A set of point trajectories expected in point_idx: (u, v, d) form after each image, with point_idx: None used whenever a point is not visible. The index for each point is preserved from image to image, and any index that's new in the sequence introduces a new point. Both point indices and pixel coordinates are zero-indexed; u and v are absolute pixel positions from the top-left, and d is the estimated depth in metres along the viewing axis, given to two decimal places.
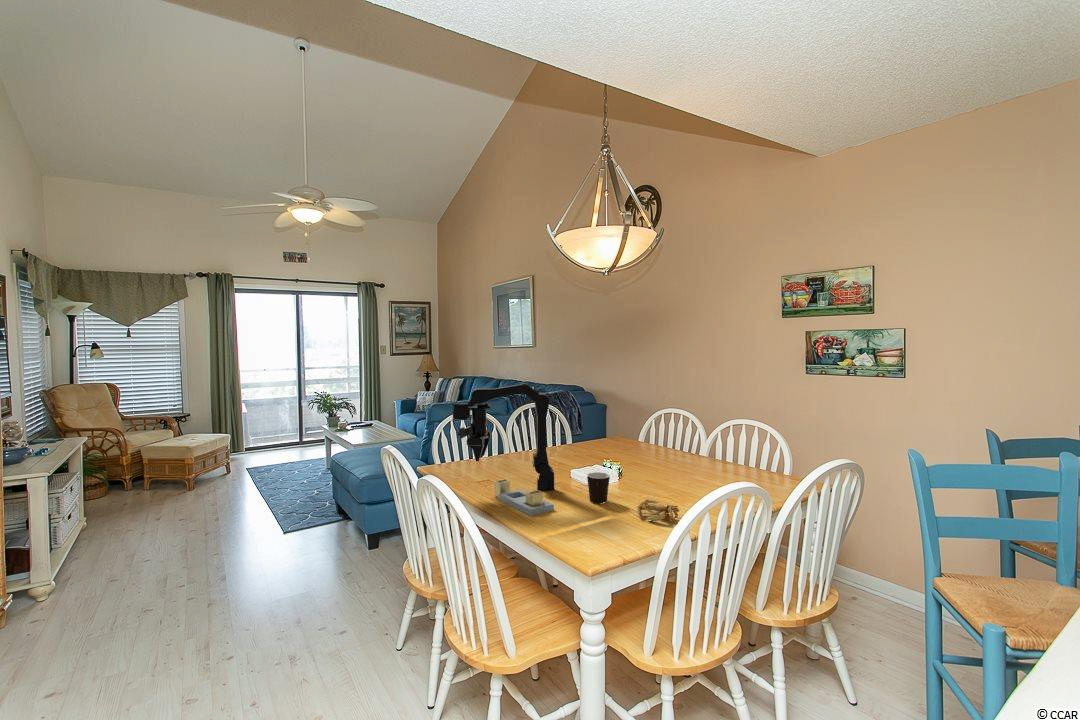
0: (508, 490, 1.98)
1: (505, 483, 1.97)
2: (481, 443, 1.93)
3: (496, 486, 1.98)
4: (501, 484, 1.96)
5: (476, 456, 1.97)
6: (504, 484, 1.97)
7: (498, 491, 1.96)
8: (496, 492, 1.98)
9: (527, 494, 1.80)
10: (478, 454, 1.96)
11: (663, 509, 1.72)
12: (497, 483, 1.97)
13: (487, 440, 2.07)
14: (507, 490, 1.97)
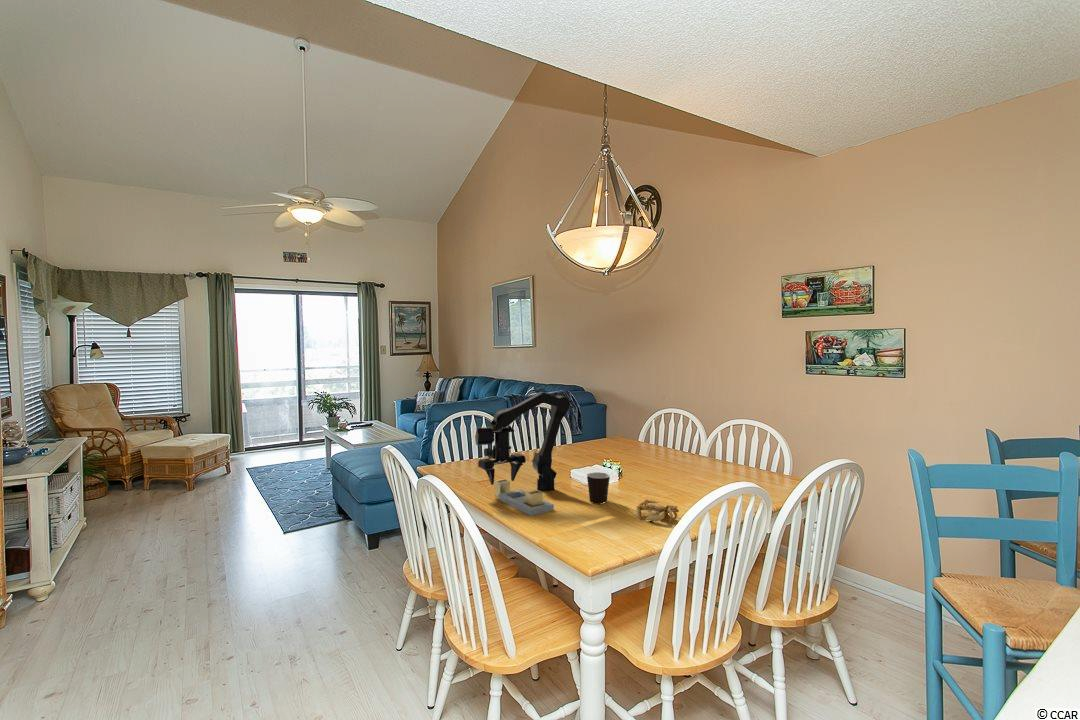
0: (508, 490, 1.98)
1: (505, 483, 1.97)
2: (485, 467, 1.91)
3: (496, 486, 1.98)
4: (501, 484, 1.96)
5: (490, 479, 1.96)
6: (504, 484, 1.97)
7: (498, 491, 1.96)
8: (496, 492, 1.98)
9: (527, 494, 1.80)
10: (490, 478, 1.95)
11: (663, 509, 1.71)
12: (497, 483, 1.97)
13: (516, 466, 2.00)
14: (507, 490, 1.97)
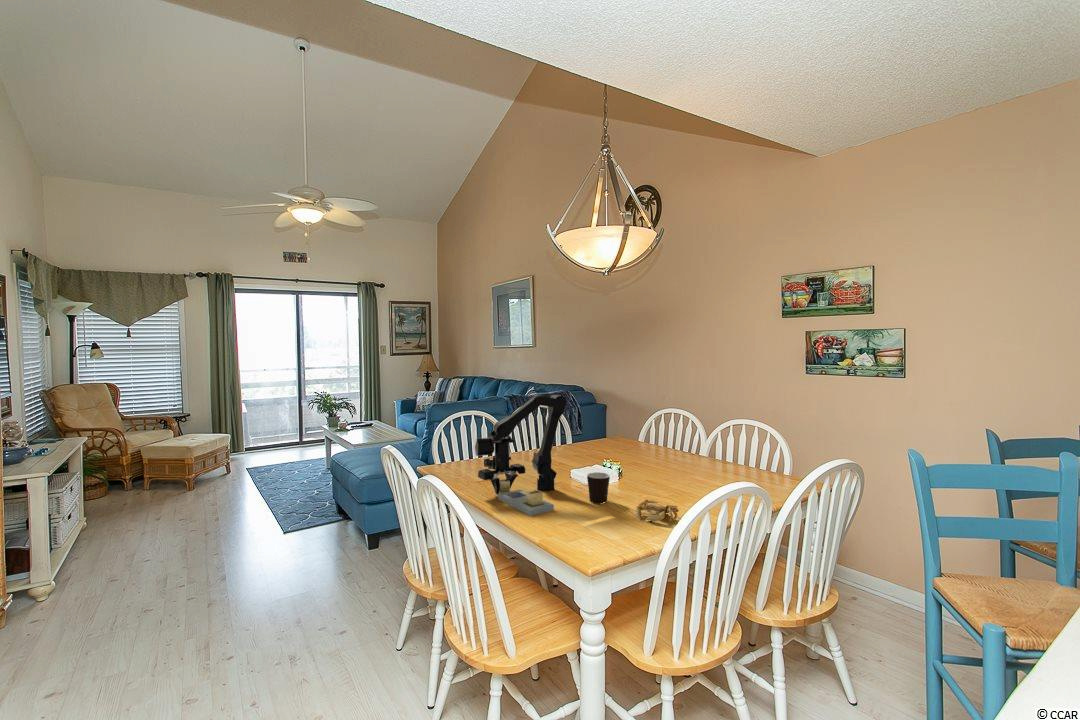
0: (508, 490, 1.98)
1: (505, 483, 1.97)
2: (485, 478, 1.91)
3: None
4: (501, 484, 1.96)
5: (494, 489, 1.97)
6: (504, 484, 1.97)
7: None
8: None
9: (527, 494, 1.80)
10: (495, 487, 1.96)
11: (662, 509, 1.71)
12: None
13: (511, 477, 1.98)
14: (507, 490, 1.97)
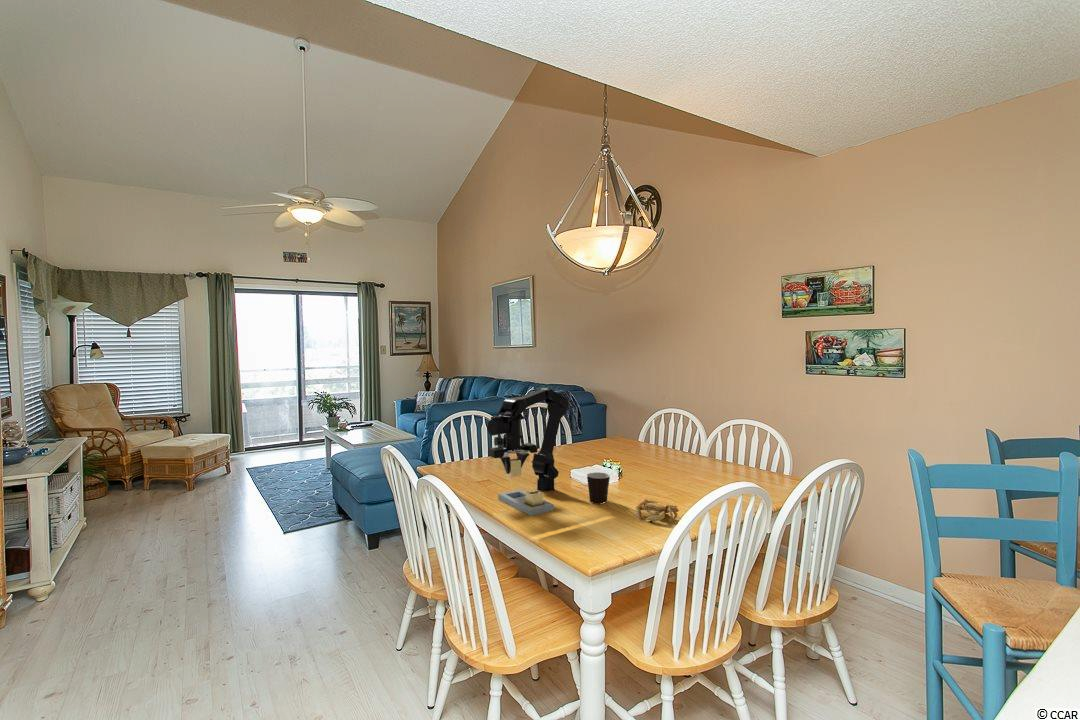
0: (519, 469, 1.90)
1: (516, 462, 1.89)
2: (495, 456, 1.84)
3: None
4: (512, 463, 1.89)
5: (505, 468, 1.90)
6: (515, 463, 1.89)
7: (509, 470, 1.89)
8: None
9: (527, 494, 1.80)
10: (506, 466, 1.89)
11: (662, 509, 1.71)
12: None
13: (522, 456, 1.91)
14: (518, 469, 1.90)
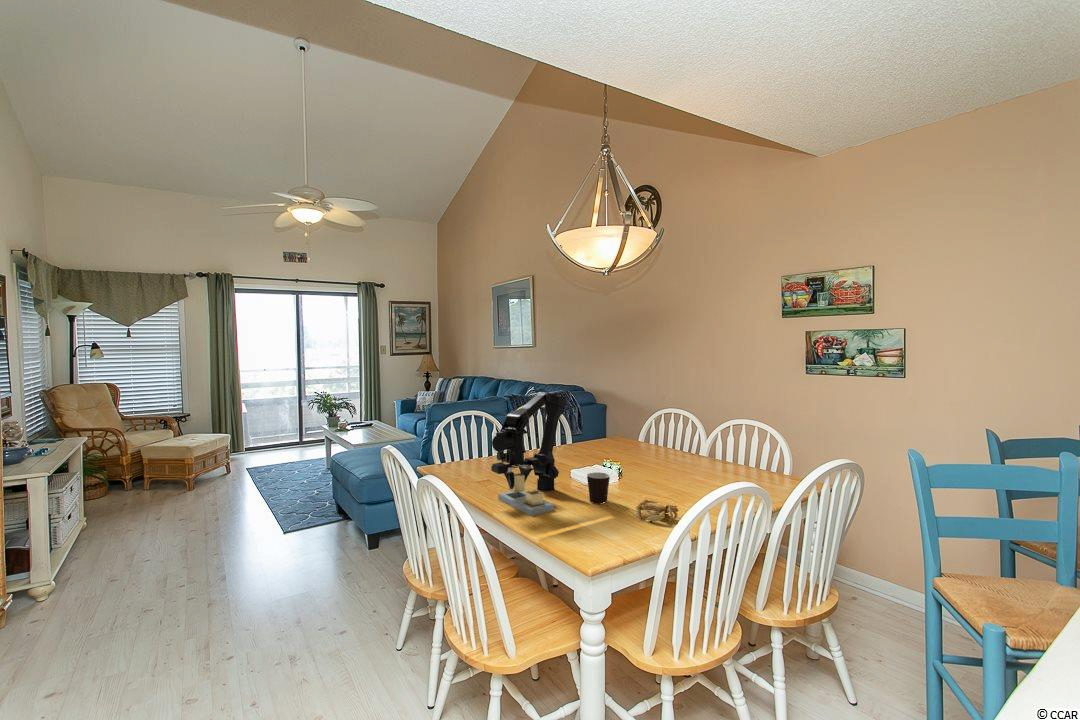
0: (523, 484, 1.89)
1: (520, 477, 1.88)
2: (499, 472, 1.82)
3: None
4: (515, 478, 1.87)
5: (509, 483, 1.88)
6: (519, 478, 1.88)
7: (513, 485, 1.88)
8: None
9: (527, 494, 1.80)
10: (509, 482, 1.87)
11: (662, 509, 1.71)
12: None
13: (525, 471, 1.90)
14: (521, 484, 1.89)
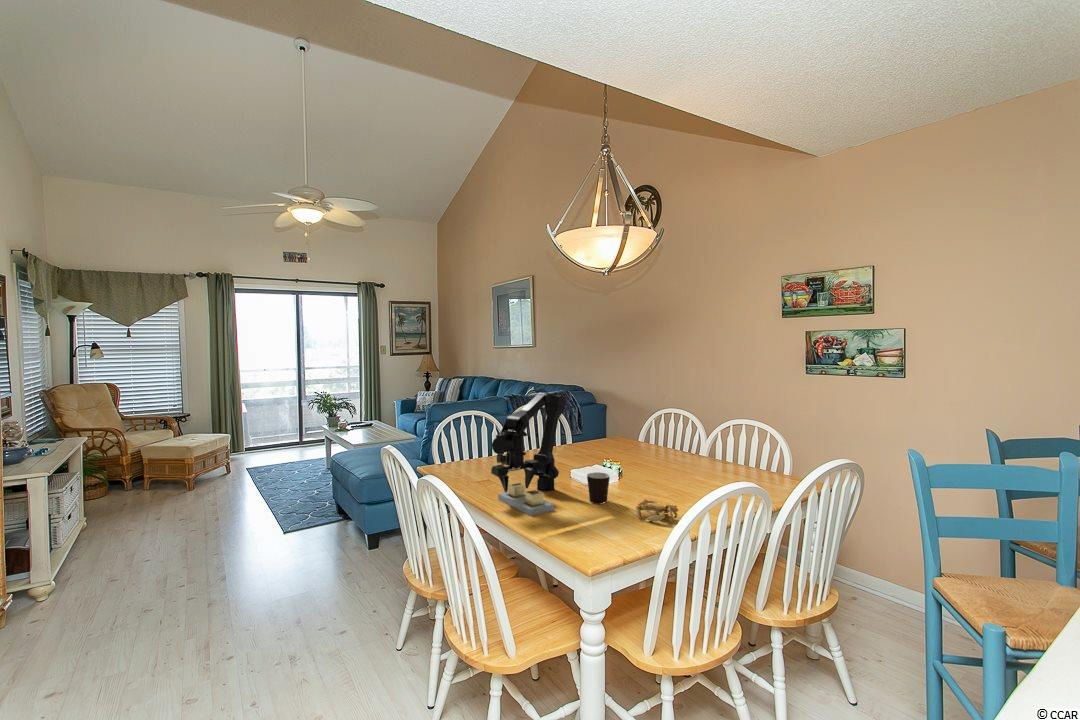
0: (523, 494, 1.89)
1: (520, 487, 1.88)
2: (499, 474, 1.82)
3: (510, 490, 1.89)
4: (516, 488, 1.87)
5: (503, 487, 1.87)
6: (519, 488, 1.88)
7: (513, 495, 1.88)
8: (510, 496, 1.89)
9: (527, 494, 1.80)
10: (504, 485, 1.86)
11: (662, 509, 1.72)
12: (511, 487, 1.89)
13: (530, 472, 1.91)
14: (521, 494, 1.89)
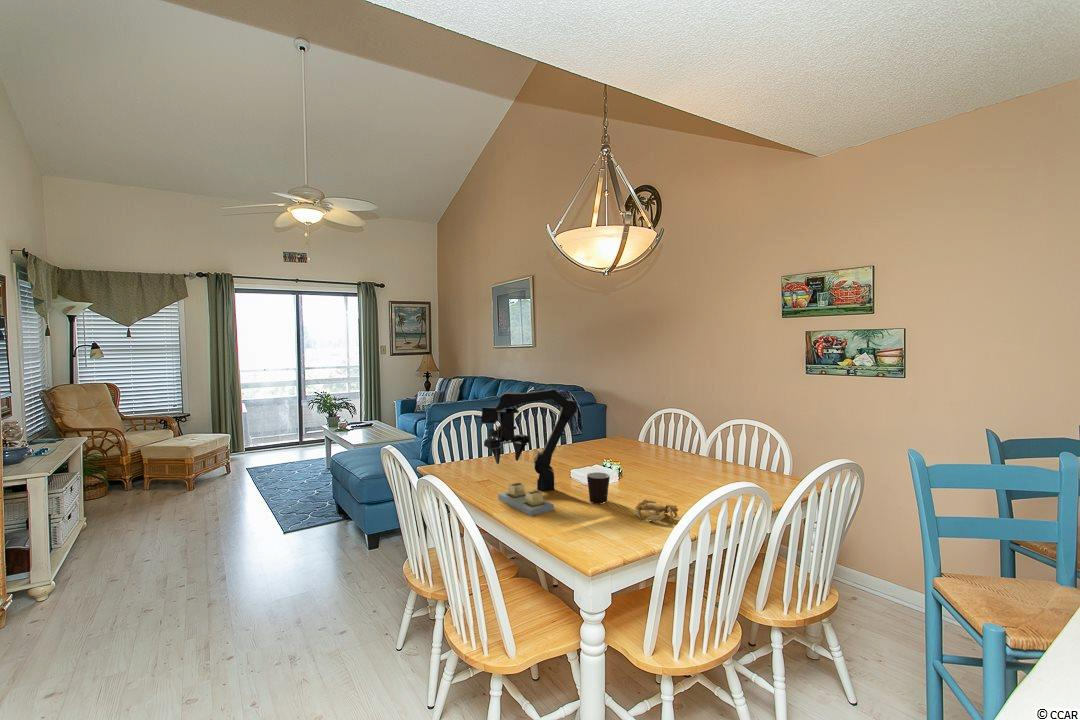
0: (523, 494, 1.89)
1: (520, 487, 1.88)
2: (491, 446, 1.96)
3: (510, 490, 1.89)
4: (516, 488, 1.87)
5: (495, 458, 2.00)
6: (519, 488, 1.88)
7: (513, 495, 1.88)
8: (510, 496, 1.89)
9: (527, 494, 1.80)
10: (496, 457, 1.99)
11: (662, 509, 1.72)
12: (511, 487, 1.89)
13: (520, 446, 2.05)
14: (521, 494, 1.89)
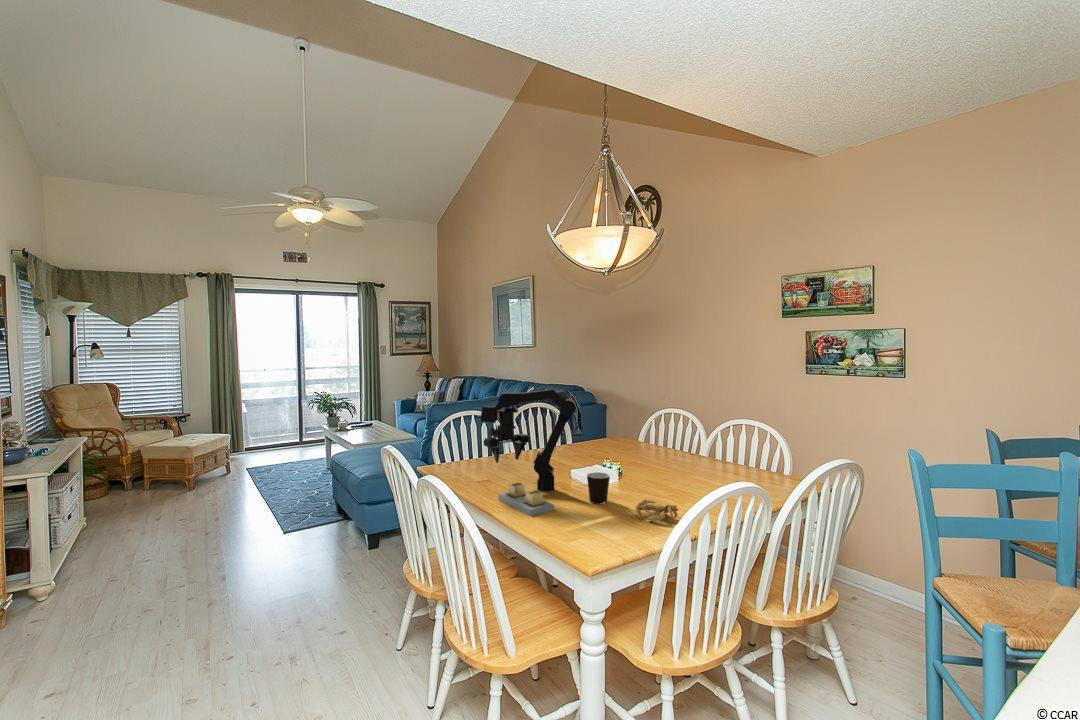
0: (523, 494, 1.89)
1: (520, 487, 1.88)
2: (490, 445, 1.98)
3: (510, 490, 1.89)
4: (516, 488, 1.87)
5: (495, 457, 2.02)
6: (519, 488, 1.88)
7: (513, 495, 1.88)
8: (510, 496, 1.89)
9: (527, 494, 1.80)
10: (495, 456, 2.01)
11: (662, 509, 1.72)
12: (511, 487, 1.89)
13: (520, 445, 2.06)
14: (521, 494, 1.89)
